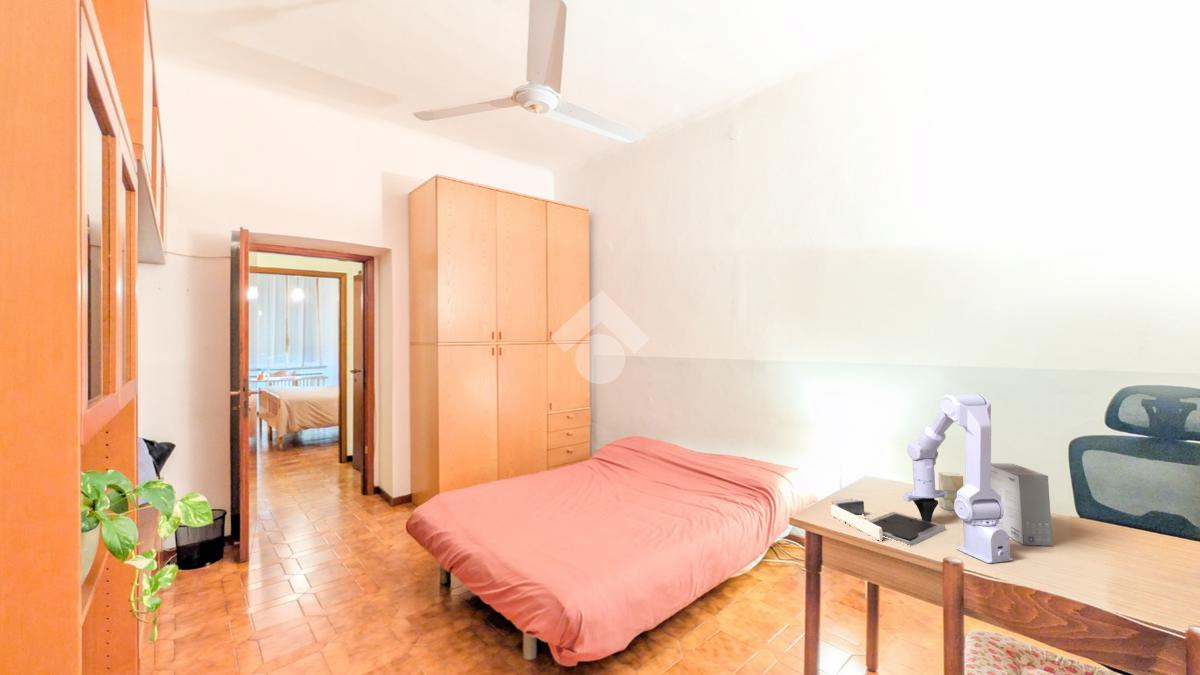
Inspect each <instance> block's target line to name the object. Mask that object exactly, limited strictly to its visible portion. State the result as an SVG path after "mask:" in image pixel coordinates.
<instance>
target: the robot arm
mask: <svg viewBox="0 0 1200 675" xmlns="http://www.w3.org/2000/svg"><path fill="white" fill-rule="evenodd" d="M938 406H939V412H938V414H937V416H936V418H935V419H934V421H933V423H932V425H928V426H925V427H923V431H921V433H920V435H919V436H918V438H917V439H916V440H914V441H909V442H908V444H907V447H906V448H907V454H908V456H909V457H910V459H911V461H912V473H913V474H912V475H913V477H912V478H913V489H912V491H910V492H909V491H908V492H906V493H902V500H903V501H905V502H908V503H909V502H912V501H913V503H914V504H915V506H916V508H917V510H918V512H919V514H920V519H922V520H923V521H926V522H932V518H933V516H934V512H935V510H936V508H937V507H938V505H939V500H937V499H939V498H940V497H943V498H947V492H946V491H943V490H939V489H936V480H935V479H936V476H935V466H936V465H937V458H938V457H939V452H938V449H939V447H940V446H941V445H942V444H943V442H944V441H945V439H946V437H947V436H946V433H945V432H946V431H947V430H948V429H949V428H950V427H951V426H952V425H953V424H954V423H955V424H957V425H958V426H961V427H963V429H964V430H965V477H964V478H965V483H964V484H963V487H962V488H960V489H959V490H958V491H957V497H956V499H955V502H954V509H955V510H954V512H955V513H956V515H957V516H958V517H959V519H960V520H961V521H962V526H963V528H962V529H963V544H964V546H958V547H956V550H958V551H960V552H962V553H964V554H966V555H968V556H971V557H974V558H976V559H978V560H980V561H982V562H984V563H987V564H995V563H1002V562H1008V561H1013V560H1014V559H1013V558H1012V556H1011V552H1010V551H1011V550H1010V549H1011V548H1010V537H1009V536H1008V534H1007V533H1006V532H1005V531H1004V530H1002V529H1001V528H999V527H998V526H997V525H996V524H998V523H999V520H1000V519H1001V518H1002V517H1003V514H1004V510H1003V506H1002V504H1001V496H1000V495H999V494H998V493H997V492H995V491H994V490H992V489H991V488H990V482H991V463H992V456H991V455H992V423H991V421H992V420H991V419H992V416H991V415H992V413H991V412H992V410H991V409H992V403H991V402H990V401H989V400H988V399H987V397H986V396H985V395H983V394H982V393H980V392H979V393H978V392H977V393H976V392H975V393H969V394H968V393H966V394H964V393H963V394H949V393H947V394H945V395H944V396H942V398H941V401H940V402H938Z"/></svg>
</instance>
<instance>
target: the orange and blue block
mask: <svg viewBox="0 0 1200 675" xmlns="http://www.w3.org/2000/svg"><path fill="white" fill-rule="evenodd" d="M854 501H860V500H858V499H854V498H849V499H848V498H847V499H839V500H832V501H831V505H835V506H837V503H845V502H854Z"/></svg>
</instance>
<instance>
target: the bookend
mask: <svg viewBox="0 0 1200 675" xmlns="http://www.w3.org/2000/svg"><path fill="white" fill-rule="evenodd" d="M837 507H839V508H841V509H844V510H846V511H848V512H850V513H852V514H854V515H862V514H864V515H865V502H864V500H859V501H854V502H845V503H837Z"/></svg>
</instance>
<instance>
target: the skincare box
mask: <svg viewBox="0 0 1200 675" xmlns="http://www.w3.org/2000/svg"><path fill="white" fill-rule="evenodd" d="M937 474H938V475H937V476H938V490H943V491H946V492H947V498H943V497H940V498H938V505H939V507H941V508H942V509H943V510H947V511H955V509H954V502H955V499H956V497H957V491H958V490H959V489H960V488H962V487H963V486H964V476H963V474H961V473H960V472H949V471H947V472H946V471H944V472H943V471H942V472H941V471H938V473H937Z"/></svg>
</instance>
